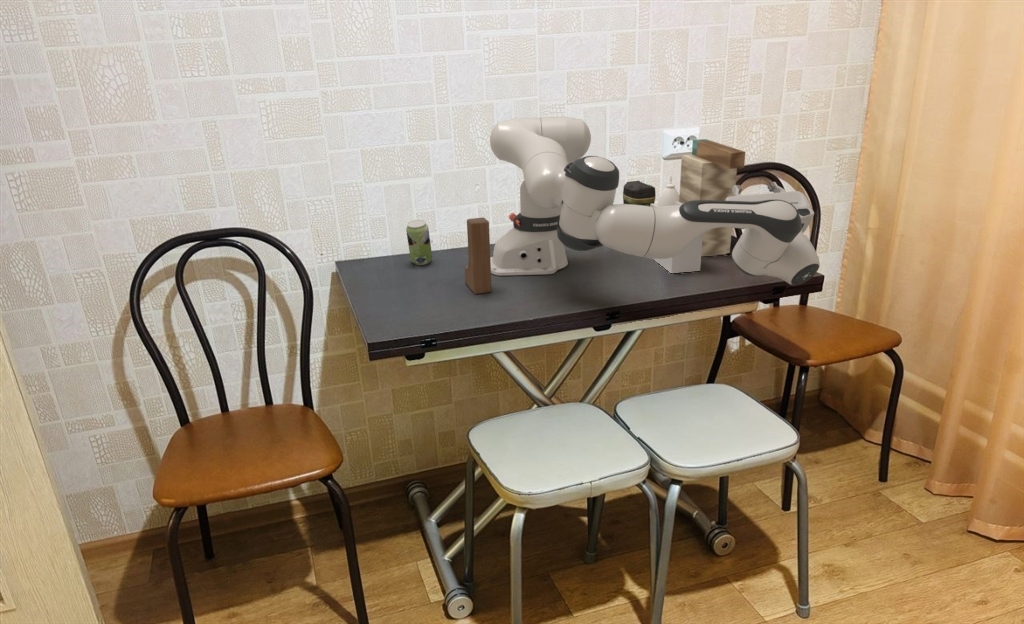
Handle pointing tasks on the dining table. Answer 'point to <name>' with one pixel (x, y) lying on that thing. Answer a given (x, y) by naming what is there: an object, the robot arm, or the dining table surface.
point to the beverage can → (419, 242)
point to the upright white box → (683, 254)
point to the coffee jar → (638, 193)
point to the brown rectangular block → (718, 153)
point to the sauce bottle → (668, 196)
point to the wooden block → (478, 256)
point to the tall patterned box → (708, 196)
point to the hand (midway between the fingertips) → (753, 185)
